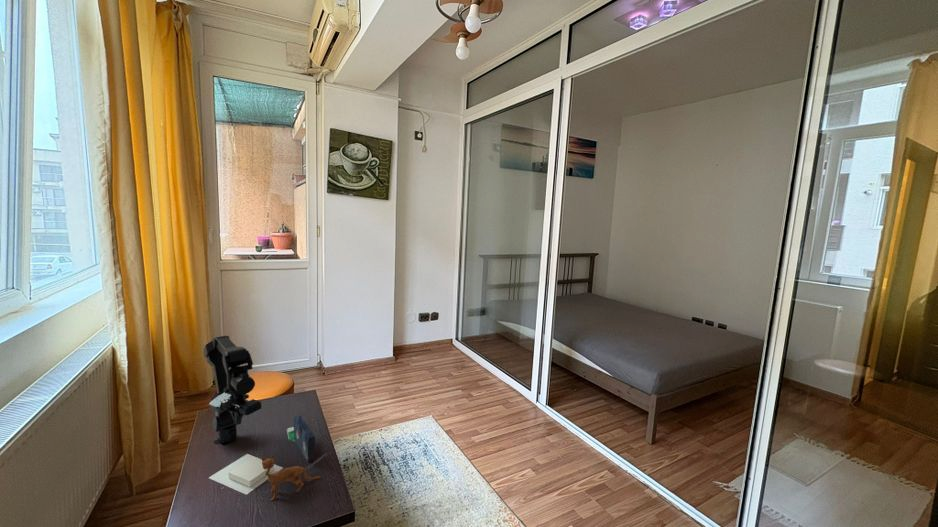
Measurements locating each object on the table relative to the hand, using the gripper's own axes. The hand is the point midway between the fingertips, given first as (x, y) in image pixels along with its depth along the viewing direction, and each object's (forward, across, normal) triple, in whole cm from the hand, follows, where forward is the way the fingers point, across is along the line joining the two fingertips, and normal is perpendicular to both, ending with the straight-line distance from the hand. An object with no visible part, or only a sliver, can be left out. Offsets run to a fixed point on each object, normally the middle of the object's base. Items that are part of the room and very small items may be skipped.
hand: (237, 423), depth 133 cm
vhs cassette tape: (+13, +19, +13) cm, 26 cm away
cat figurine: (+12, +31, -3) cm, 34 cm away
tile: (+11, +9, -5) cm, 15 cm away
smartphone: (+13, +9, +19) cm, 25 cm away
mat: (+12, +12, -5) cm, 18 cm away
